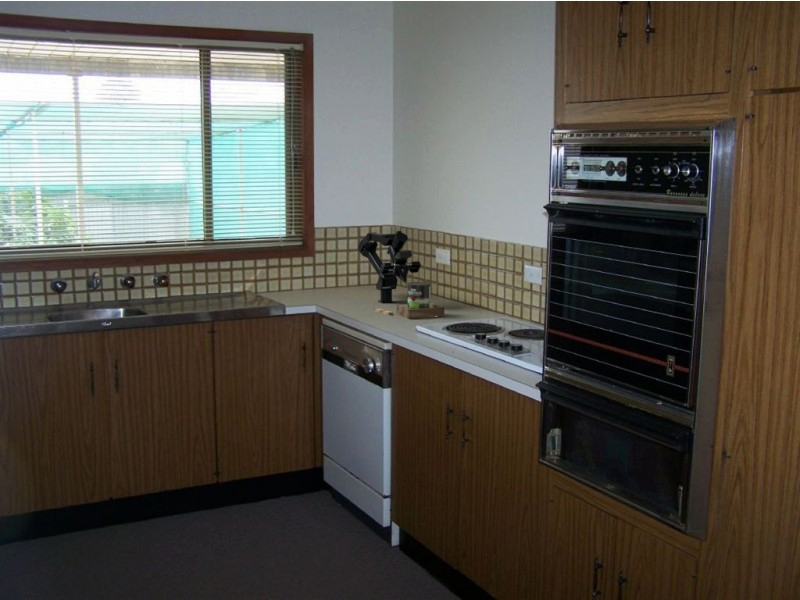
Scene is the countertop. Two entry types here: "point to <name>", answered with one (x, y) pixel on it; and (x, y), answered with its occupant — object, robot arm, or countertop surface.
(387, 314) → the oak stirring stick
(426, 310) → the walnut cubby
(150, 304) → the countertop surface
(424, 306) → the coffee can
